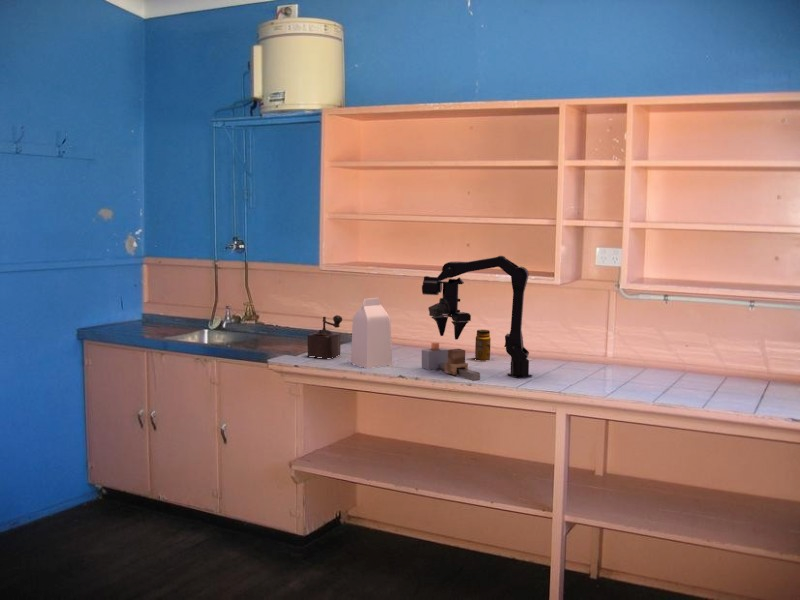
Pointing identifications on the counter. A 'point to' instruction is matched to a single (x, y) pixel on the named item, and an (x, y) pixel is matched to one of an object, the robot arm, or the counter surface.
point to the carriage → (455, 361)
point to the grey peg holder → (434, 358)
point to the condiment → (482, 346)
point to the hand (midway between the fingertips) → (449, 337)
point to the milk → (371, 335)
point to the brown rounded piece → (434, 346)
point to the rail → (462, 372)
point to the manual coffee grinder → (325, 341)
